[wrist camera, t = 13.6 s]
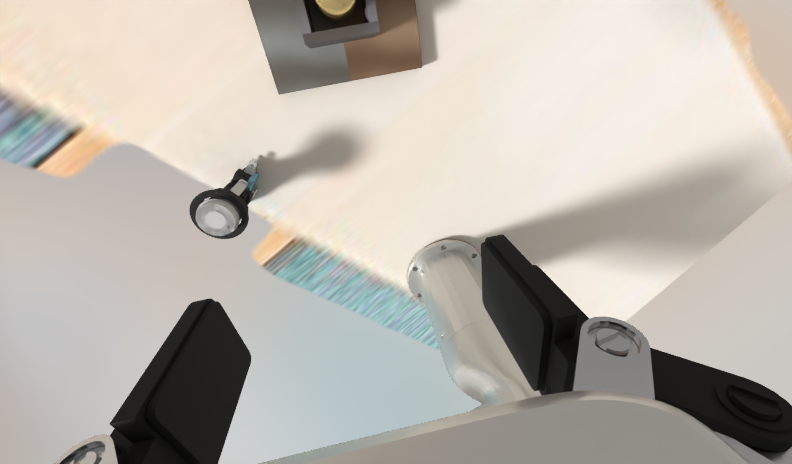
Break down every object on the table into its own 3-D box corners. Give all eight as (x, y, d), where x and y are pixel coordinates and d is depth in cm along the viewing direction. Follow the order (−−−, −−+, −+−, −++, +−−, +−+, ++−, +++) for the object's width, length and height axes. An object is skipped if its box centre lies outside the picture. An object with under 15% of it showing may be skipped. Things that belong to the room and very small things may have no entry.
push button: (235, 147, 36) (199, 172, 27) (278, 170, 38) (258, 200, 29) (216, 193, 38) (177, 229, 29) (257, 211, 40) (233, 251, 31)
